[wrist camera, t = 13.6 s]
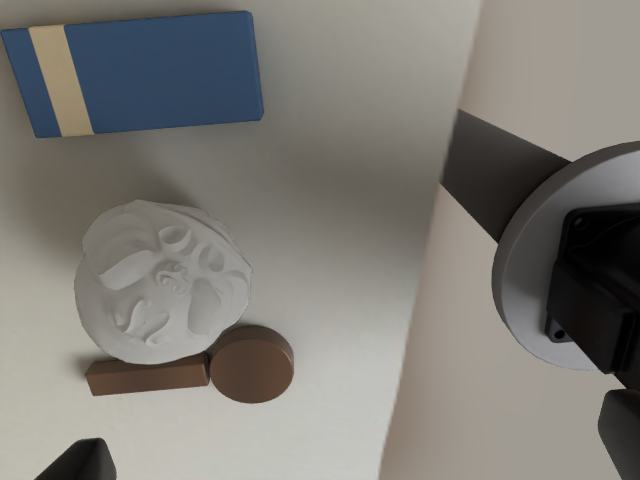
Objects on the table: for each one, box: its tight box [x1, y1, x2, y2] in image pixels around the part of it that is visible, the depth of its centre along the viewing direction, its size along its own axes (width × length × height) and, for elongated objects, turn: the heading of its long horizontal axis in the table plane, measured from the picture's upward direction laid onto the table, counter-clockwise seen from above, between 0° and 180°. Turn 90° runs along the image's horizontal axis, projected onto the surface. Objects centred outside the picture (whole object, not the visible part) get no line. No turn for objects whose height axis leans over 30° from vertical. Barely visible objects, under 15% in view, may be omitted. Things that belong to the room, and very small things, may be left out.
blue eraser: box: [0, 11, 264, 138], centre depth 16 cm, size 8×4×2 cm, turn 94°
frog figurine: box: [74, 199, 253, 364], centre depth 16 cm, size 6×7×7 cm
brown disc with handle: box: [85, 326, 294, 404], centre depth 22 cm, size 10×4×1 cm, turn 94°
